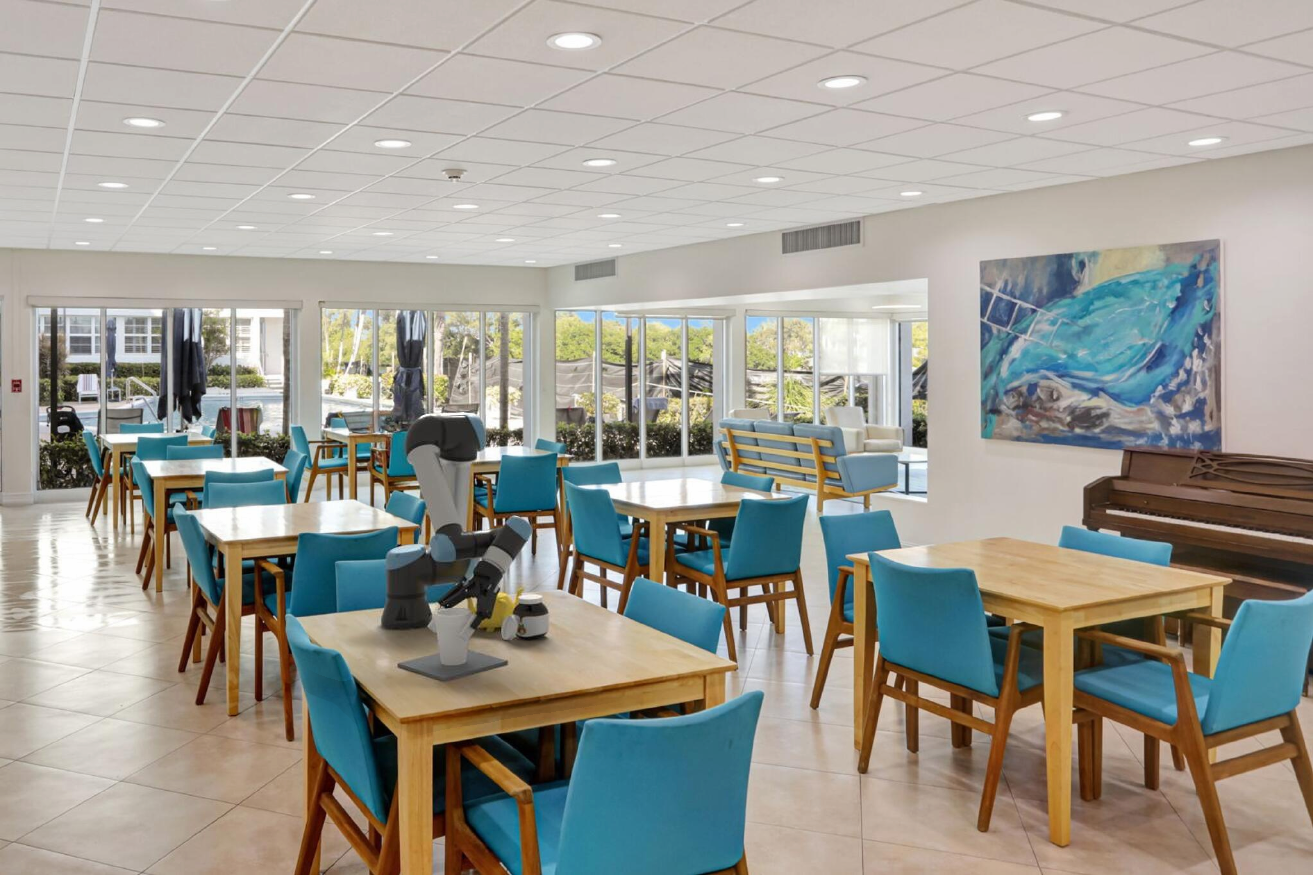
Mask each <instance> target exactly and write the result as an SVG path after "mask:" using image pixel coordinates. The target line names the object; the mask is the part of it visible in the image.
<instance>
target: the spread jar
mask: <svg viewBox="0 0 1313 875" xmlns="http://www.w3.org/2000/svg"><path fill="white" fill-rule="evenodd" d="M518 602H519V604H518V605H517V606H516V607H515V608H514V610H513V614H512V616H507V617H506V618H505V620H504V621H503V624H502V627H500V628H501V630H500V633H501V634H500V635H501V637H502V639H503V640H504V641H505V640H506V641H511V640H513V639H514V637H515V636H516V637H517V638H518V639H519V640H522V641H536V640H540V639H543V638H544V637H545V636H546V635H547V634H548V632H549V630H550V613H549V610H548V607H547V606H546V604H545V603H544V602H543V595H541V594H533V593H532V594H523V595H522V594H521V596H519V597H518Z"/></svg>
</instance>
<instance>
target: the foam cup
mask: <svg viewBox="0 0 1313 875" xmlns="http://www.w3.org/2000/svg"><path fill="white" fill-rule="evenodd" d="M471 617H472V611H471V610H469V609H468V608H465V607H464V608H463V607H462V608H461V607H453V608H448V609H441V610H438V609H437V610H436V611H435V612H434V613H433V618H434V622H435V625H436V632H435V633H436V638H437V645H438V653H440V659H441V663H442V664H444V665H460V664H463V663H465V662H466V659H467V650H469V649H468V648H469V641H470V640H468V641H467V642H466V641H464V640H463V639H462V638H461V637H460V636H459V635H460V633H461V632H462V630H463V629H464V627H465V626H466V624H467V623H468V621H469V620H470V618H471Z"/></svg>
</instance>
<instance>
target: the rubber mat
mask: <svg viewBox="0 0 1313 875" xmlns="http://www.w3.org/2000/svg"><path fill="white" fill-rule="evenodd" d="M505 665H509V660H506V659H503V658H499V657H495V656H492V655H488V654H484V653H482V652H477V651H474V650H470V649H468V650H467V659H466V662H465V663H463V664H460V665H444V664H442V663H441V659H440V653H439V652H437V653H434V654H433V653H432V654H429V655H426V656H422V657H418V658H413V659H409V660H405V661H402V662H397V667H398V668H402V669H405V670H408V671H411V672H414V673H417V674H420V675H423V676H427V677H428V678H429V677H430V678H431V679H436V680H439V681H442V682H446V681H452V680H455V679H457V678H462V677H465V676H468V675H473V674H476V673H481V672H483V671H487V670H491V669H494V668H498V667H502V666H505Z"/></svg>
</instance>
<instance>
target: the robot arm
mask: <svg viewBox="0 0 1313 875" xmlns="http://www.w3.org/2000/svg"><path fill="white" fill-rule="evenodd" d="M486 445H487V434H486V429H485V424H484V423H483V421H482V419H481V418H480V417H479V415H478V414H476V413H472V412H463V411H462V412H448V413H447V412H446V413H427V414H424V415H423V414H422V415H421V416H420V417H418V418H417V419H415V420H414V421H413V423H412V424H410V426H409V428H408V429H407V432H406V435H405V438H404V452H405V453H404V454H405V457H406V460H407V462H408V463H409V464H410V465H412V466H413V471H414V473H415V475H416V476H415V477H416V479H417V482H418V485H419V487H420V488H419V490H420V491H421V494H422V498H423V501H424V504H425V507H426V510H427V513H428V514H427V515H428V517H429V519H430V522H431V526H432V528H433V529H432V530H433V532H434V535H432V537H431V538H430V543H429V547H428V548H426V546H425V545H424V544H422V543H414V544H405V545H401V546H398V547H395V548H391V549H390V550H389V551H387V554H386V555H385V565H384V567H385V568H384V569H385V585H386V586H385V589H386V590H385V591H386V601H385V604H384V606H383V611H382V615H381V619H380V622H381V623H380V626H381V625H382V626H383V628H384V627H385V629H388V628H392V629H391V630H411V629H410V628H414V629H421V628H424V626H425V627H427V628H428V629H429V630H430V631H431V632H432V633H437V632H436V625H435V622H434V614H433V612H432V610H431V608H430V604H429V602H428V599H427V588H429V587H430V588H431V587H435V586H445V585H455V586H453V587H452V588H451V589H450V590H449V591H447V592H446V593H445V594H444V595H443V596H441V597H440V598H439V599H438V600H437V604H439V608H438V609H437V611H438V610H441V609H448V608H455V607H456V606H457V605H459V604H460V603H462V602H464V601H465V600H467V599H469V598H473V599H476V603H477V611H476V613H475V614H477V616H476V615H475V614H473V615H472V617H471V618H470V620H469V621H468V623H467V624H466V626H465V627H464V629H463V630H462V632H461V633H460V635H459V636H460V637H461V638H462V639H463V640H464V641H466V642H467V641H468V640H469V639H470V638H471V637H472V635H473V634H474V632H475V631H476V630H477V629H479V625H480V623H481V622H482V620H485V619H486V618H487V619H490V618H491V617H492V613H493V609H494V606H495V602H496V598H497V595H498V593H500V591H501V587H500V586H498V585H499V583H500V582H501V581H502V579H503V578H504V575H505V574H506V573H507V572H508V570H509V568H510V567H511V566H512V563H513V562H514V561H515V560H516V558H517V556H518V555H519V553H521V551H522V550H523V548H524V547H525V546H526V543H527V542H529V539H530V537H531V535H532V534H533V531H534V530H533V527H532V525H531V524H530V523H529V522H528V521H527V520H525V518H523V517H520V516H518V515H512V516H509V518H508V519H507V520H506V521H505V524H504V525H503V526H500V527H497V528H492V529H491V528H490V529H481V530H473V531H470V530H469V531H467V525H468V524H467V523H468V520H467V519H468V509H469V497H470V484H471V473H472V472H471V471H472V464H473V463H474V462H476V461H477V459H478V452H482V451H483V450H484V449H485V447H486ZM441 462H442V463H441ZM477 559H481V560H479V561H478V563H477ZM487 611H488V612H487ZM382 626H381V627H382ZM469 641H470V640H469Z"/></svg>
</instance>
